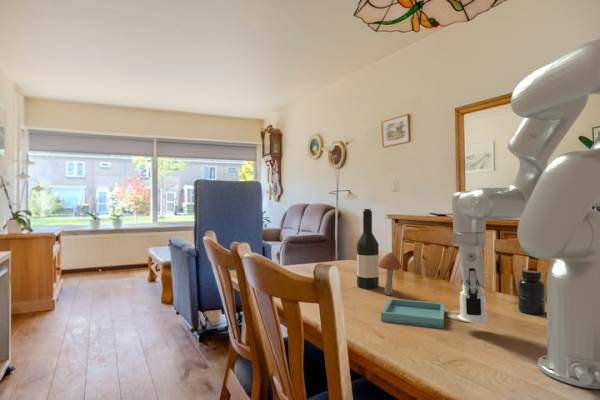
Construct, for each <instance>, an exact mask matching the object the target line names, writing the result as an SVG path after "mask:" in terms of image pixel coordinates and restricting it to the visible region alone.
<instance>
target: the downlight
mask: <svg viewBox="0 0 600 400" xmlns="http://www.w3.org/2000/svg"><path fill="white" fill-rule="evenodd" d="M478 283H479V282H478ZM468 285H470V283H468ZM476 285H477V283H476ZM483 289H484V288H483V287H482V285H480V284H479V297H480V299H481V315H480V316H479V315H468V314H467V310H466V298H467V288H466V286H465V285H464V284H463V283H462V291H460V293H459V307H460V310H459V311H460V315H458V318H459V319H461V320H463V321H467V322H466V323H472V324H473V323H474V324H483V323H488V322H489V321H490V320H489V318H488V312H487V311H488V310H487V307H486V304H487V303H486V302H487V301H486V298H487V295H486V293H484V290H483Z"/></svg>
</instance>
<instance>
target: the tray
mask: <svg viewBox="0 0 600 400" xmlns="http://www.w3.org/2000/svg"><path fill="white" fill-rule="evenodd" d="M380 314H381V315H380V321H381V322H389V323H396V324H397V323H398V324H404V325H415V326H423V327H431V328H440V329H444V326H445V325H444V323H445V303H443V302H441V303H439V302H432V301H431V302H430V301H423V300H422V301H421V300H410V299H399V298H391V297H390V298H389V299H388V301H387V302H386V304H385V306H384V307H383V309H382V311H381V312H380Z"/></svg>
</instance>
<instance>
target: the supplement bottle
mask: <svg viewBox="0 0 600 400" xmlns="http://www.w3.org/2000/svg"><path fill="white" fill-rule="evenodd" d="M521 278H522V279H519V280H518V282H517V283H518V285H517V297H518V298H517V305H518V306H517V309H518V311H519V312H521V313H524V314H528V315H535V316H537V315H539V316H540V315H542V316H543V315H544V314H545V313H546V284H545V283H544V281H542V280H541V279H542V273H541V272H540V271H538V270H537V271H536V270H528V269H526V270H525V269H524V270H522V271H521Z"/></svg>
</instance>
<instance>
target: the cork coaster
mask: <svg viewBox="0 0 600 400" xmlns="http://www.w3.org/2000/svg"><path fill="white" fill-rule="evenodd" d="M458 315H460V310H449V311H447V312H446V313H445V317H447V318H448V319H450V320H451V321H452V320H453V321H457V322H464V323H468V322H467V321H463V320H461V319H459V318H458Z"/></svg>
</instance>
